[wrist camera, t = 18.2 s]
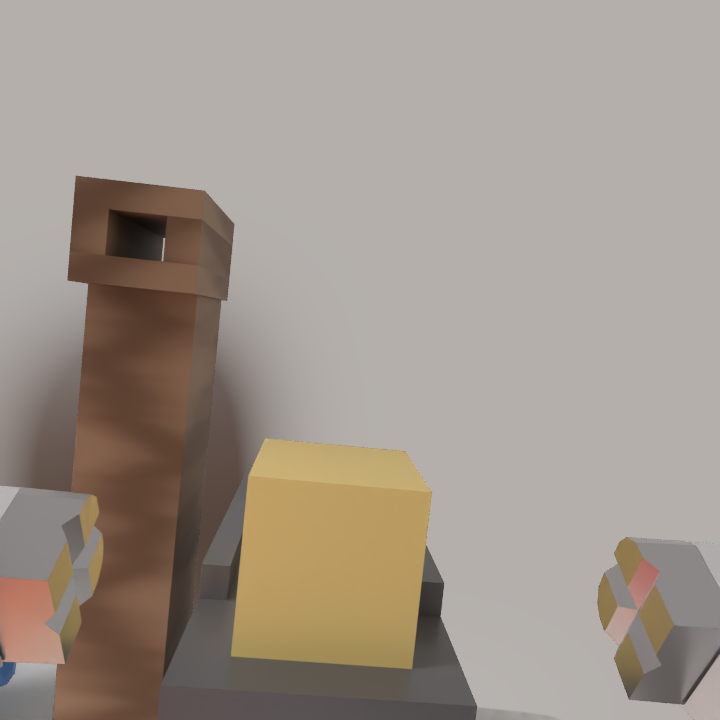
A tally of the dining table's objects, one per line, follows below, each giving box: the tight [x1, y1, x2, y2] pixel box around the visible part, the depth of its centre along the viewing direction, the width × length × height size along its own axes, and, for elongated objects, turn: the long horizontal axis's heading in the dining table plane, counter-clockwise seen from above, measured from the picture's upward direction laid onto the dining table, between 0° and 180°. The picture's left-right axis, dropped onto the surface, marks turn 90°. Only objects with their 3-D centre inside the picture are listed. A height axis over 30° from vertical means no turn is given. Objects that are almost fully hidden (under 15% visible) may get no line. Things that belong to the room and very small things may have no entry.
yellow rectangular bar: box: [231, 439, 432, 669], centre depth 24 cm, size 4×17×4 cm, turn 3°
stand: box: [53, 176, 234, 720], centre depth 28 cm, size 7×12×29 cm, turn 3°
